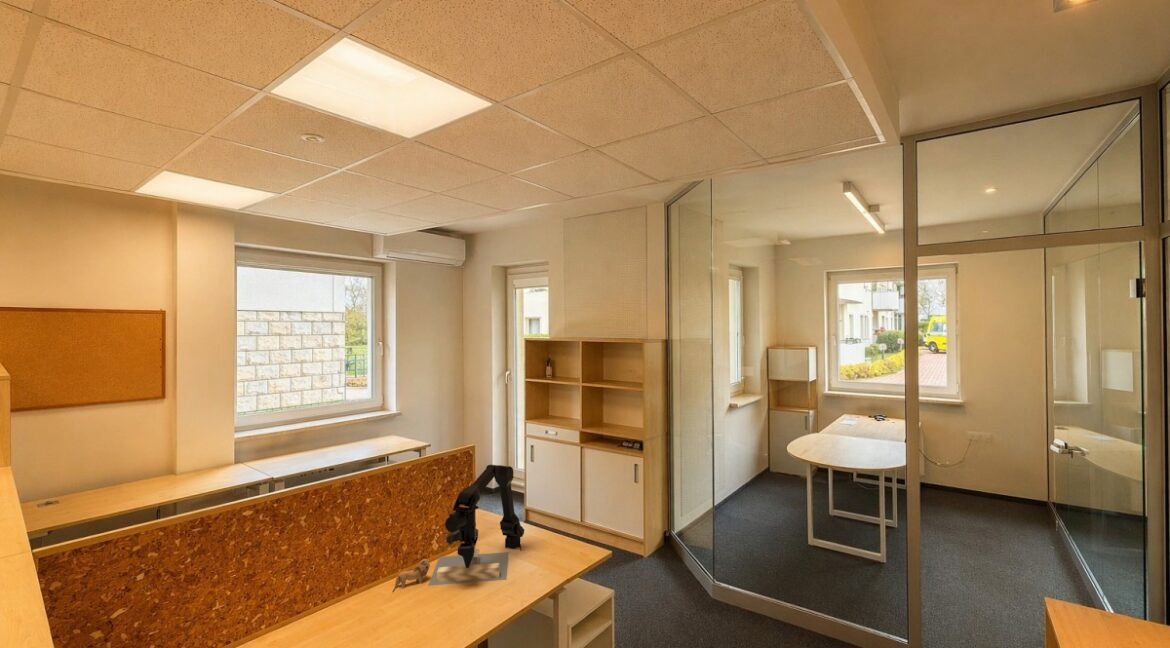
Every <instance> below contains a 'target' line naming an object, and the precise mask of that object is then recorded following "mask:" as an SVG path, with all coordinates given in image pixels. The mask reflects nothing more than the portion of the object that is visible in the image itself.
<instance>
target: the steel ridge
mask: <svg viewBox="0 0 1170 648" xmlns="http://www.w3.org/2000/svg"><path fill="white" fill-rule="evenodd" d="M479 554H480V548H477V546H476V545H475V552H474V555H473V558H472V560H471V563H470V565H478V561H479Z"/></svg>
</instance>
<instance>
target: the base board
mask: <svg viewBox="0 0 1170 648" xmlns="http://www.w3.org/2000/svg"><path fill="white" fill-rule="evenodd" d="M491 563H499V567H500V574H499V578H488V579H475V580H462V581H449V582H437V570H438V568H439V567H450V566H464V565H465V563H464V559H463V557H462V556H460V555H447V556H439V557H438V559H437V563H436V564H435V567H434V569H433V572H432V575H431V577H430V580H429V582H428V586H439V585H453V584H455V585H456V584H468V583H479V582H480V583H481V582H494V581H507V578H508V577H507V576H508V567H509V566H508V565H509V551H506V552H503V551H502V552H492V553H489V552H488V553H479V561H478V564H491Z"/></svg>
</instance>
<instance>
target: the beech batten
mask: <svg viewBox="0 0 1170 648" xmlns="http://www.w3.org/2000/svg"><path fill="white" fill-rule="evenodd" d="M499 574H500V567H499V563H491V564H478V565H470V566H469V568H466V566H465V565H464V566H450V567H439V568H438V570H437V582H449V581H462V580H475V579H488V578H499Z"/></svg>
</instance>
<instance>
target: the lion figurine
mask: <svg viewBox="0 0 1170 648" xmlns="http://www.w3.org/2000/svg"><path fill="white" fill-rule="evenodd" d="M430 567H431V566H430V560H429V559H426V558H423V559H422V560H420V561H419V564H418V565H417V566H416V567H415V568H414V569H412V570H403V571H401V572H399V573H398V575H397V576H396V579H395V584H394V588H393V590H392V593H394V592H395V590H396V589H397V588H398V586H399V585H400V584H401V589H405V588H406V587H405V585H406V582H407V581H415V582H418V584H420V585H421V584H422V583H423V578H424V577H426V576H427V575H428V571H429V569H430Z"/></svg>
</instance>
